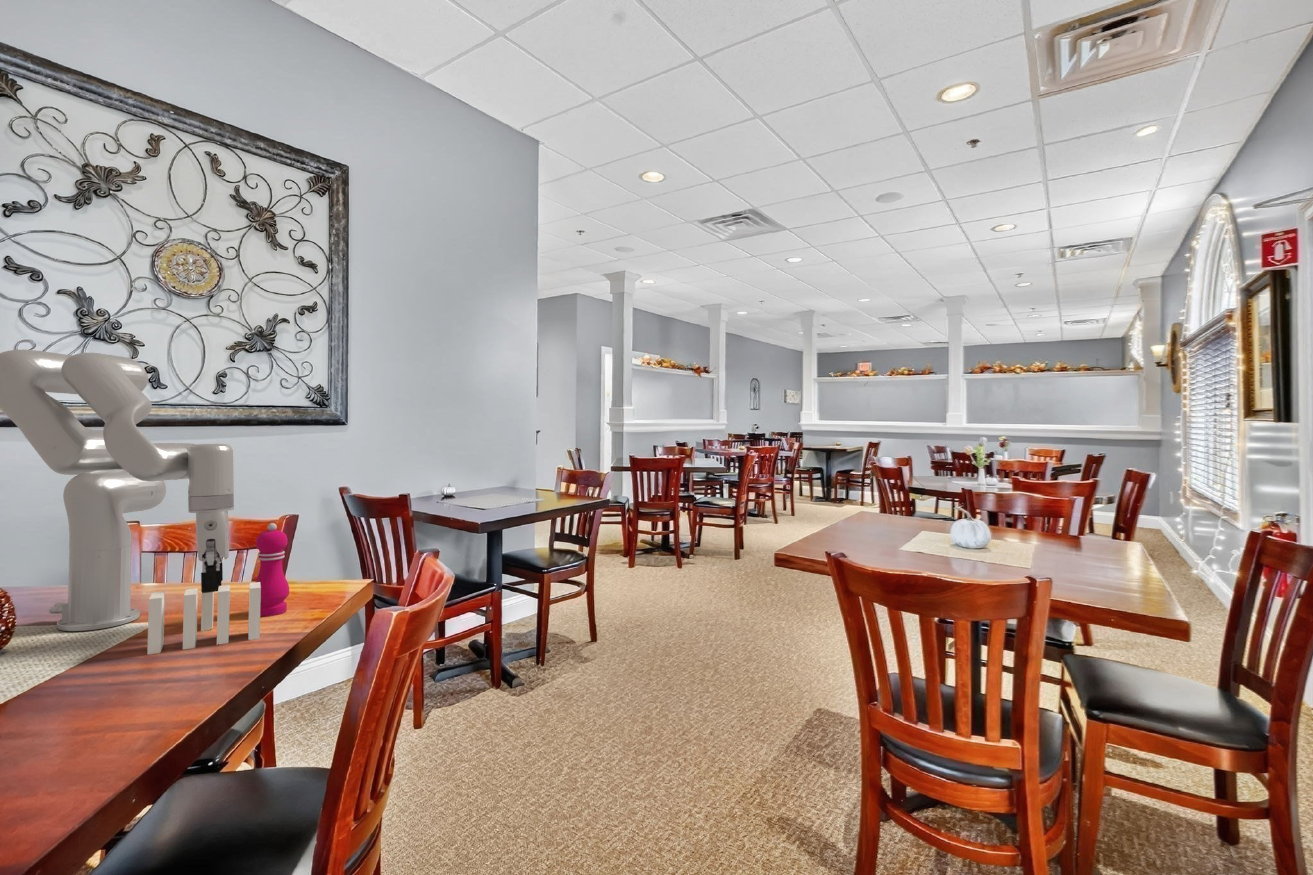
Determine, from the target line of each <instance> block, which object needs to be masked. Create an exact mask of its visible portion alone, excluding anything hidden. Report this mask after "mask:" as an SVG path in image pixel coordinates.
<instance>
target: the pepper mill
mask: <svg viewBox="0 0 1313 875" xmlns="http://www.w3.org/2000/svg"><path fill="white" fill-rule="evenodd" d="M277 526H278V525H277V523H274V522H270V523H268V525H267V526H266V527H267V530H264V531H262V532H260V533H259V534H258V536H257V537H256V540H255V547H256V549H257V550H258V551H259V552H258V554H257V555H258V557H257V559H258V560H259V564H260V567H259V572H258V574H257V575H258V576H257V577H256V580H255V582H260V585H261V603H260V617H272V616H278V615H281V614H282V615H283V614H284V613H285V612H287V608H288V606H287V602H286V601H285V600H286V599H287V598H288V596H289V595H290V585H289V582H288V579H287V578H286V576H285V574H284V571H283V570H284V569H283V559H284V558H285V553H286V552H285V548H286V547H287V545H288V537H287V534H286V533H285V532H283V531H281V530H278V529H277V528H278V527H277ZM255 582H254V583H255Z"/></svg>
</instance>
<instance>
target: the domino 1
mask: <svg viewBox="0 0 1313 875" xmlns="http://www.w3.org/2000/svg"><path fill="white" fill-rule="evenodd" d="M165 596H166V591H155V592H151V595H150V596H149V598H148V616H147V618H148V620H147V651H146V652H147V656H148V655H156V654H161V653H162V649H163V646H164V640H165V638H164V634H165V629H164V628H165V598H166V597H165Z"/></svg>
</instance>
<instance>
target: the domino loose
mask: <svg viewBox="0 0 1313 875" xmlns="http://www.w3.org/2000/svg"><path fill="white" fill-rule="evenodd" d="M214 596H215V592H208V593H202V592H201V617H200V619H201V620H200V632H206V631H211V630H210V629H212V630H213V626H214V605H215V604H214V602H215V601H214V600H215V599H214V598H215V597H214Z"/></svg>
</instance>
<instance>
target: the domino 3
mask: <svg viewBox="0 0 1313 875" xmlns="http://www.w3.org/2000/svg"><path fill="white" fill-rule="evenodd" d="M230 600H231V584H226V585H221V586H219V588H218V591H217V616H216V617H217V618H216V619H217V621H216V624H217V625H216V646H218V644H219V645H225V644H229V637H230V609H231V608H230V606H231V605H230V603H231V602H230Z"/></svg>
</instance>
